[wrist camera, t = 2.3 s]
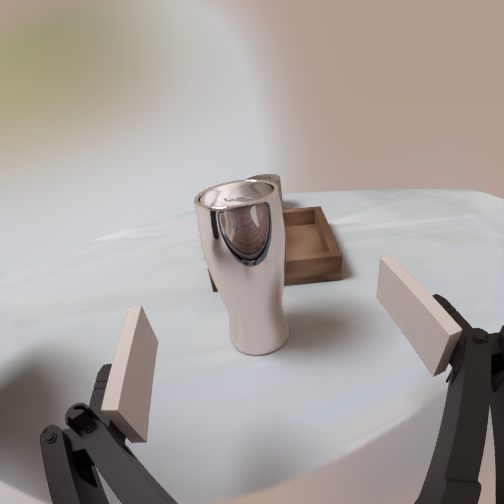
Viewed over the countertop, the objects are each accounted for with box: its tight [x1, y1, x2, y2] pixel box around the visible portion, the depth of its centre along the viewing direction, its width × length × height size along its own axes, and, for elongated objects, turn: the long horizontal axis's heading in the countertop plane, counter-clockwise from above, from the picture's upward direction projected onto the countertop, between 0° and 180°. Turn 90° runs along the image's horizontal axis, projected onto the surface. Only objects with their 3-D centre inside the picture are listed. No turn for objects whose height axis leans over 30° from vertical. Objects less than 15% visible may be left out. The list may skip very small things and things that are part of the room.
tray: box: [208, 206, 342, 292], centre depth 43 cm, size 16×16×4 cm
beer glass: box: [194, 179, 289, 355], centre depth 26 cm, size 7×7×15 cm
